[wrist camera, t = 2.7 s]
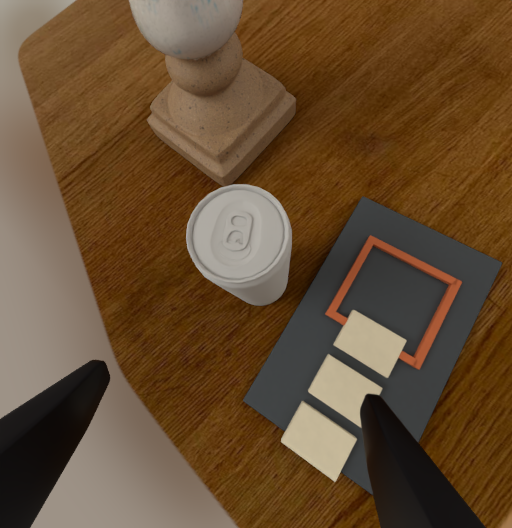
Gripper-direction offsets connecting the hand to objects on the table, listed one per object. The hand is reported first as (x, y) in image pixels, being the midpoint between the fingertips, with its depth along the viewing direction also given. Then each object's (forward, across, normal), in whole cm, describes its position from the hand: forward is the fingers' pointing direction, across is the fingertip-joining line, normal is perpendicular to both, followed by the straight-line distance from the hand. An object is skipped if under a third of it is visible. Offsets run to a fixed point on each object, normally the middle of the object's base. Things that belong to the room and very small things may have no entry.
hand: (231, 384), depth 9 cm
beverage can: (+14, 0, +4) cm, 14 cm away
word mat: (+11, -9, +6) cm, 16 cm away
